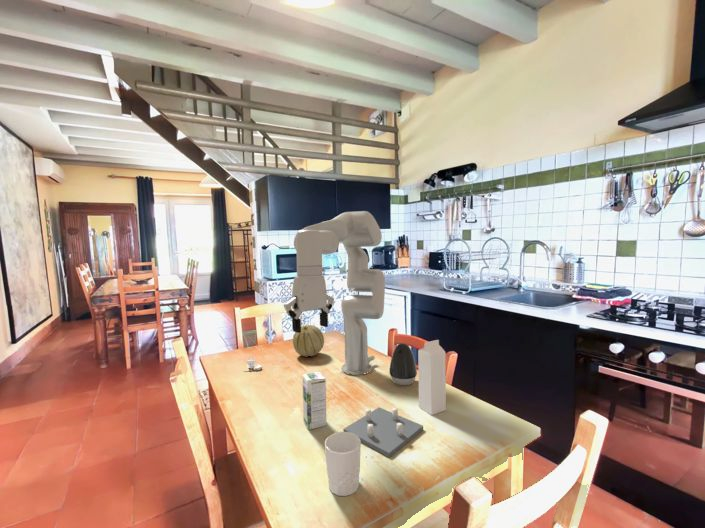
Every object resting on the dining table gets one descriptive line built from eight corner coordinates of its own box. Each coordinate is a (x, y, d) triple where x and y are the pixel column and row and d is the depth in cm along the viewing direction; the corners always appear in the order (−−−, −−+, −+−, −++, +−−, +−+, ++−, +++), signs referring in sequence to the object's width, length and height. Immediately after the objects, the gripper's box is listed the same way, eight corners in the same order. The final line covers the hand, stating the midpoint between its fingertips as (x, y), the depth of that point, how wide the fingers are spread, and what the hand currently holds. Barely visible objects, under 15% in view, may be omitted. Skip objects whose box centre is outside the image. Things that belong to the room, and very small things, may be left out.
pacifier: (264, 370, 141) (264, 361, 141) (246, 374, 137) (245, 365, 136) (258, 364, 148) (257, 355, 148) (240, 368, 144) (239, 359, 143)
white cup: (326, 474, 77) (324, 432, 76) (359, 471, 77) (358, 430, 77) (326, 500, 69) (324, 454, 68) (363, 497, 70) (362, 451, 69)
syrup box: (302, 420, 100) (301, 374, 99) (321, 416, 102) (319, 370, 101) (308, 430, 94) (306, 381, 93) (327, 425, 97) (326, 377, 96)
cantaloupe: (325, 350, 164) (324, 320, 163) (324, 360, 150) (323, 328, 149) (295, 351, 164) (294, 321, 162) (291, 362, 149) (290, 329, 148)
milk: (445, 410, 104) (446, 342, 102) (431, 415, 101) (431, 345, 99) (432, 402, 109) (432, 337, 107) (418, 407, 106) (418, 340, 105)
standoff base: (379, 410, 104) (378, 398, 104) (423, 429, 94) (423, 415, 93) (343, 433, 93) (343, 418, 93) (389, 457, 82) (388, 441, 82)
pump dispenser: (385, 385, 122) (384, 345, 121) (395, 375, 132) (394, 338, 130) (412, 391, 118) (411, 349, 117) (420, 379, 127) (419, 341, 126)
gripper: (325, 269, 106) (326, 322, 107) (277, 273, 94) (278, 332, 95) (340, 270, 101) (341, 326, 101) (291, 274, 89) (292, 336, 90)
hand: (310, 329), depth 98 cm, fingers open, 9 cm apart
